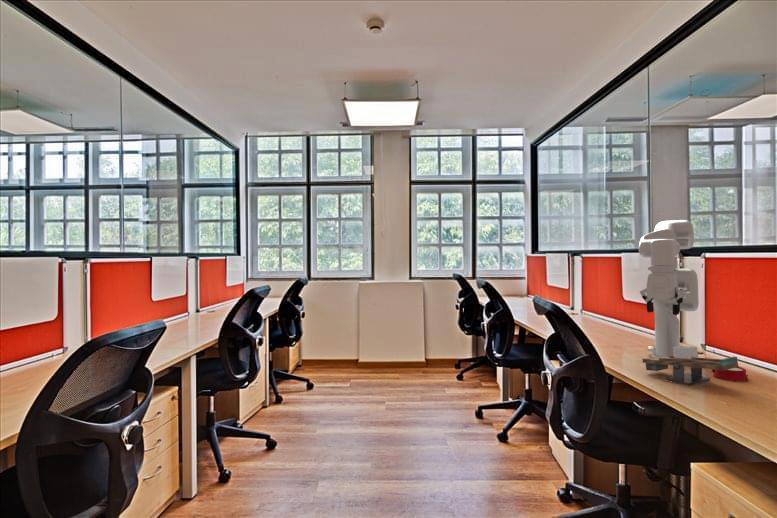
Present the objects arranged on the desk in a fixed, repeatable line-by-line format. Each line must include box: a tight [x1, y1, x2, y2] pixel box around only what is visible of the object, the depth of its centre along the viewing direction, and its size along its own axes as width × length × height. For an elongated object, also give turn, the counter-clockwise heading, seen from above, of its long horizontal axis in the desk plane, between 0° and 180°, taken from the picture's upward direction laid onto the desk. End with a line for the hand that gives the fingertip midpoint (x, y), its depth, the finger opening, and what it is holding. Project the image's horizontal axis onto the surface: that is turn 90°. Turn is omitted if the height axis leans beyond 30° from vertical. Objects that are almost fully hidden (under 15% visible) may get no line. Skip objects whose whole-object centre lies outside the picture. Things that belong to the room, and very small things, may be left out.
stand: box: [665, 364, 711, 387], centre depth 159 cm, size 8×15×7 cm, turn 118°
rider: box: [673, 345, 700, 361], centre depth 159 cm, size 6×5×5 cm
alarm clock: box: [710, 365, 749, 383], centre depth 163 cm, size 10×6×15 cm
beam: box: [642, 355, 739, 372], centre depth 159 cm, size 28×10×6 cm, turn 28°
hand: (662, 313), depth 167 cm, fingers open, 9 cm apart
